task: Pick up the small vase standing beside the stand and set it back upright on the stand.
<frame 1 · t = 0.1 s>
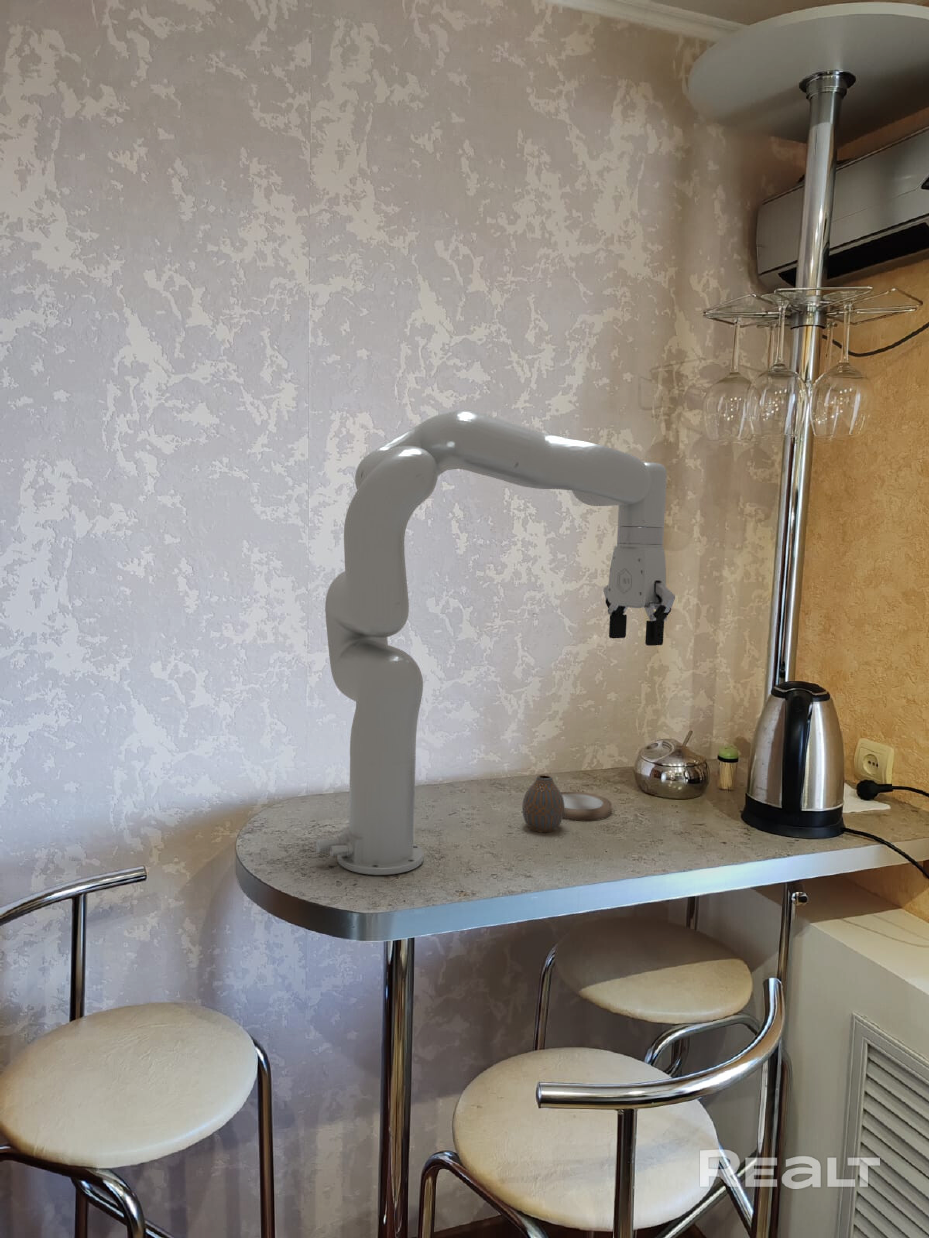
hand: (635, 641, 148), 31 cm above the breakfast bar, tool pointing down, fingers open, 9 cm apart
vase: (542, 829, 147), on the breakfast bar
stand: (576, 809, 157), on the breakfast bar
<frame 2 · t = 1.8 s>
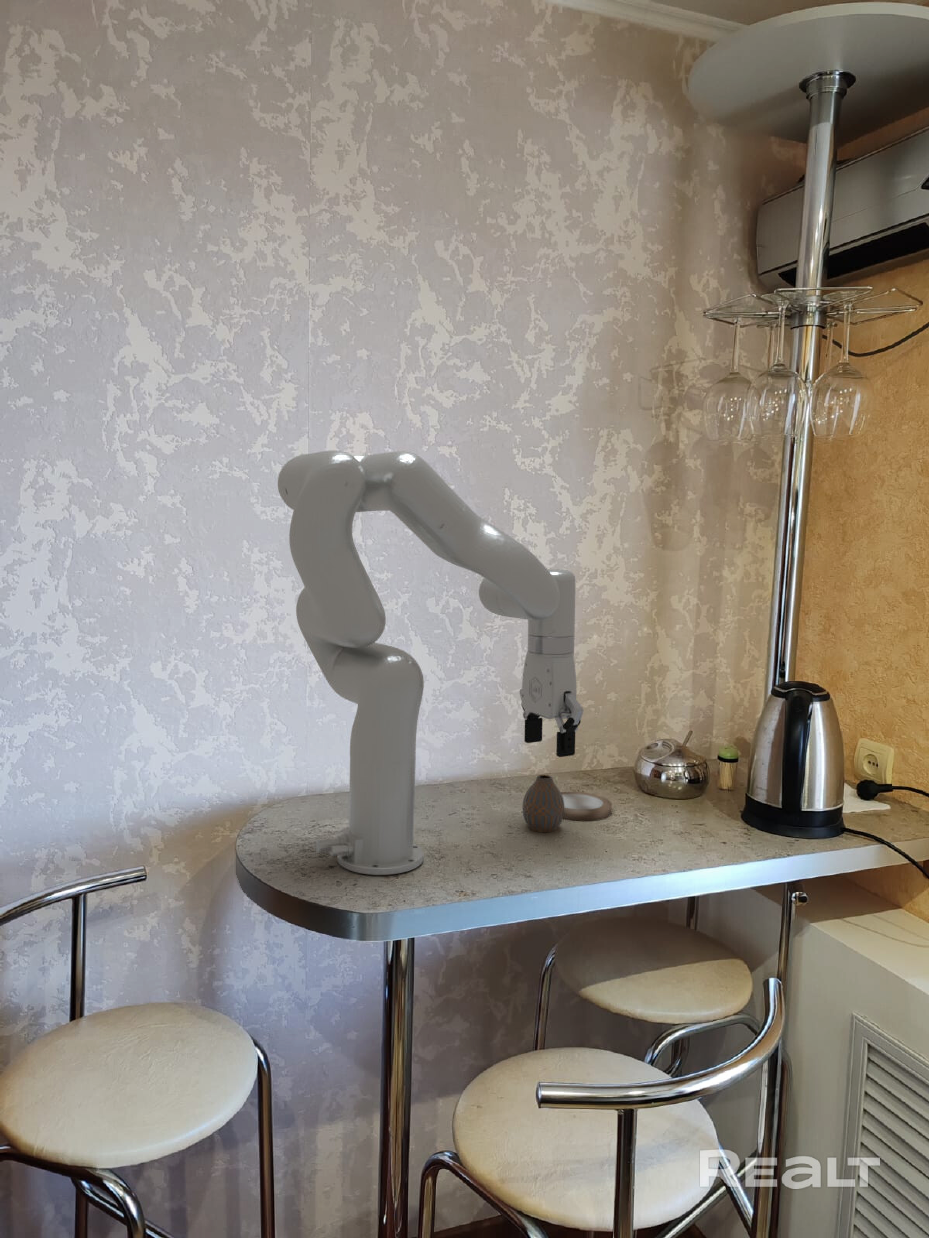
hand: (549, 748, 146), 13 cm above the breakfast bar, tool pointing down, fingers open, 9 cm apart
nothing on the breakfast bar moved.
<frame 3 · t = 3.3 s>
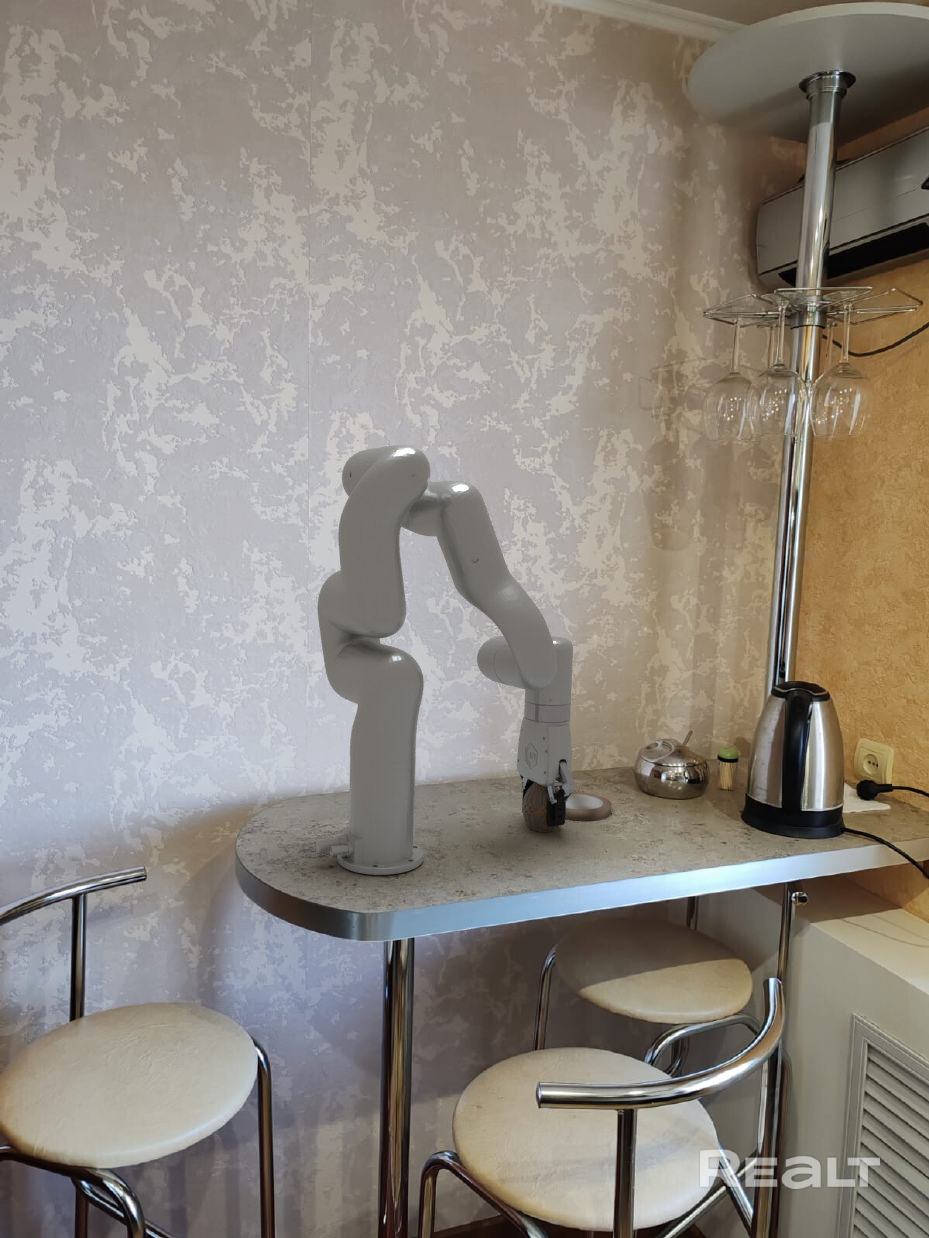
hand: (543, 817, 147), 2 cm above the breakfast bar, tool pointing down, fingers closed on vase, 6 cm apart
vase: (542, 829, 147), on the breakfast bar, touching gripper
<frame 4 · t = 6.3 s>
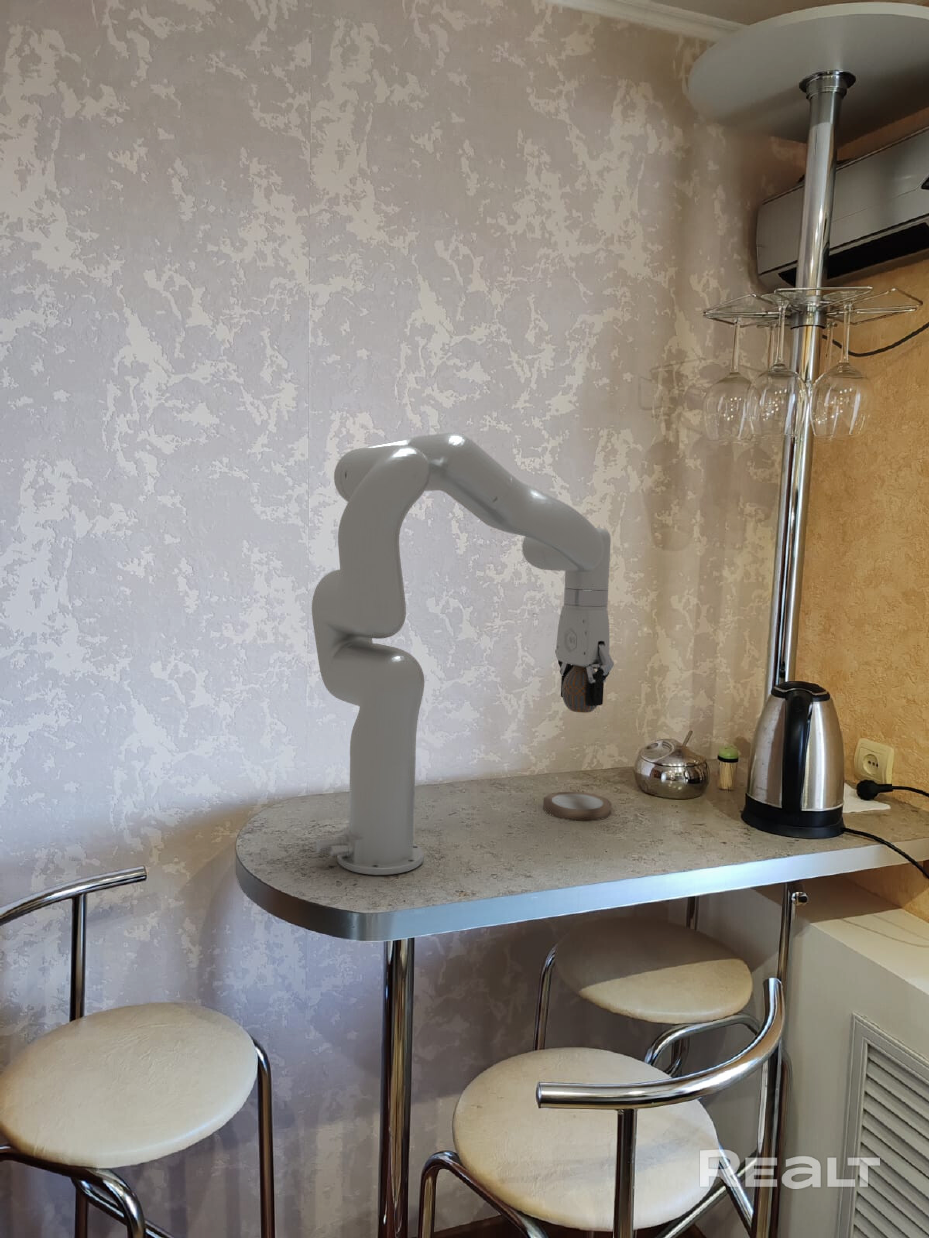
hand: (581, 700, 155), 20 cm above the breakfast bar, tool pointing down, fingers closed on vase, 6 cm apart
vase: (580, 711, 155), point 18 cm above the breakfast bar, touching gripper
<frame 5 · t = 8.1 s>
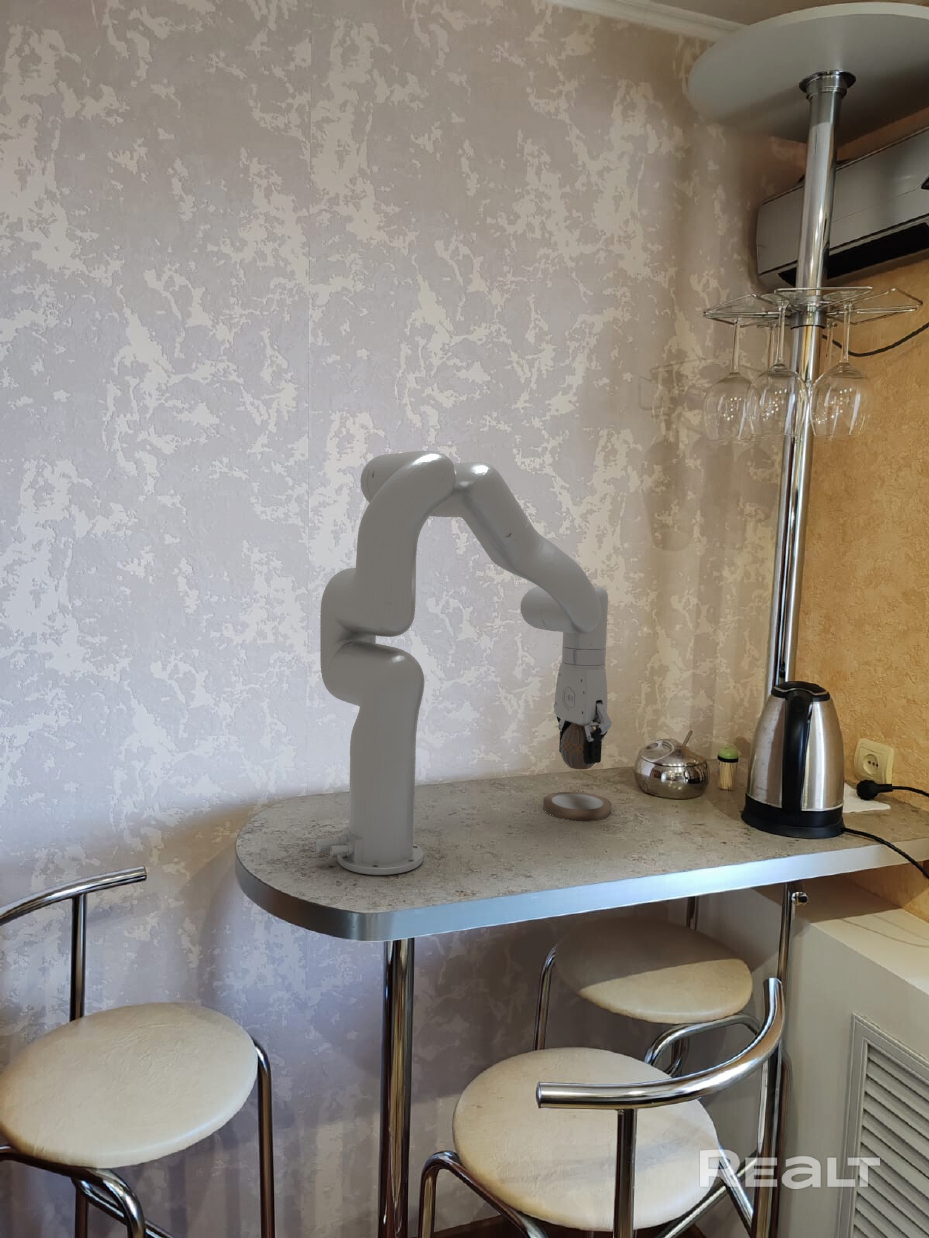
hand: (579, 756, 156), 10 cm above the breakfast bar, tool pointing down, fingers closed on vase, 6 cm apart
vase: (579, 767, 157), point 8 cm above the breakfast bar, touching gripper
when the fingers open (5 cm above the breakfast bar, at t = 9.6 s): vase drops 2 cm, resting on stand.
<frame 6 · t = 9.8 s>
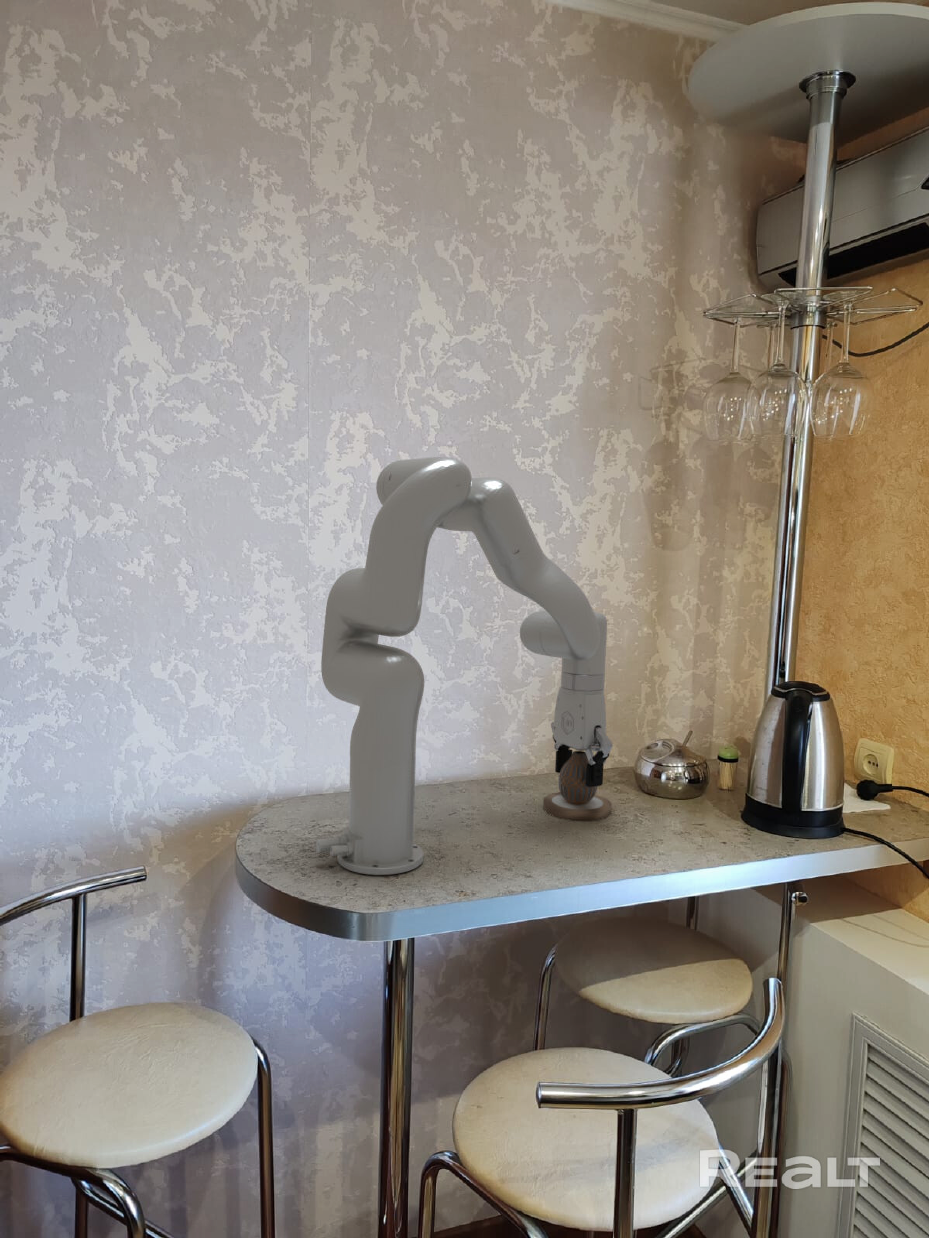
hand: (578, 778, 157), 6 cm above the breakfast bar, tool pointing down, fingers open, 9 cm apart
vase: (576, 802, 157), point 1 cm above the breakfast bar, touching stand
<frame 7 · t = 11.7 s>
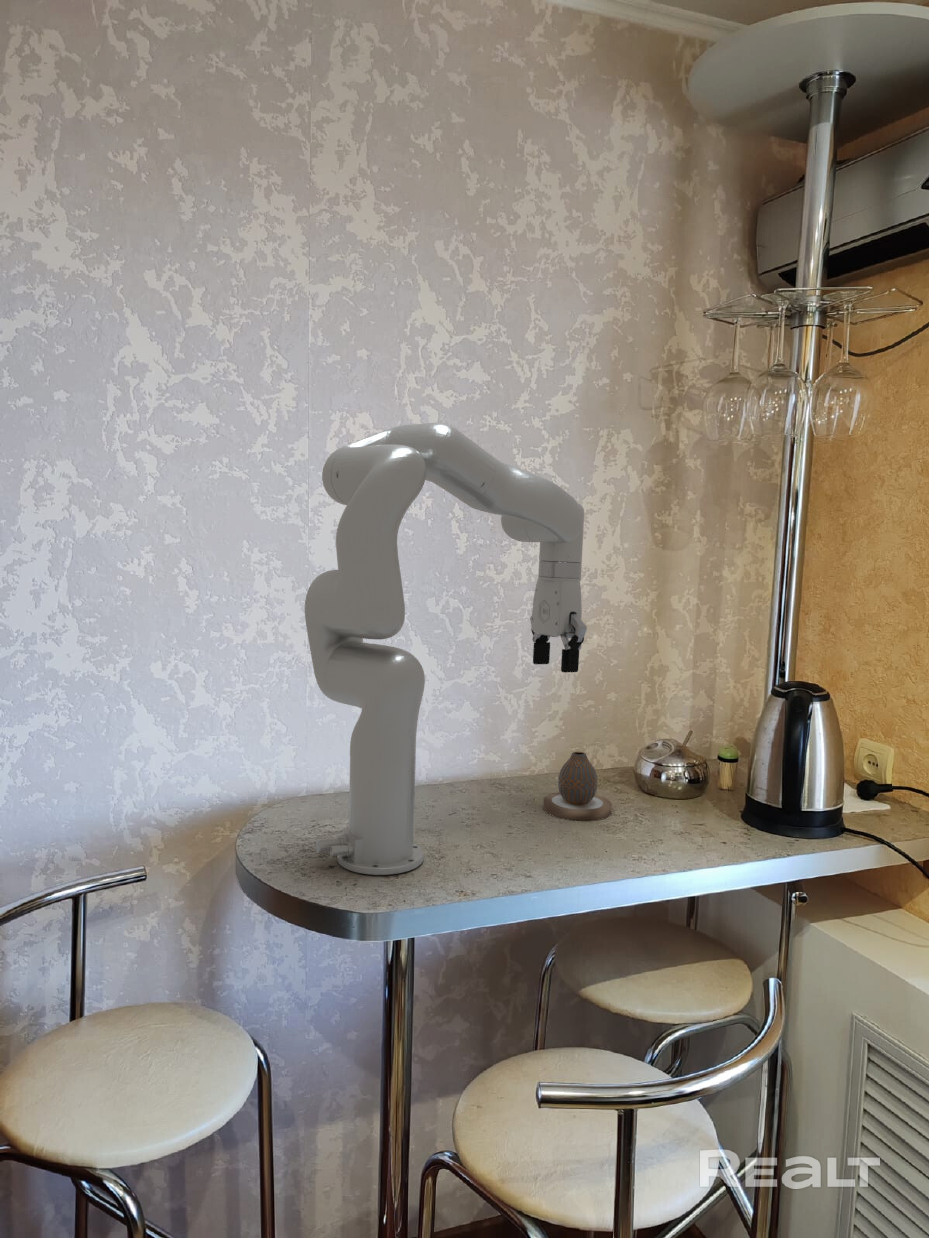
hand: (554, 667, 159), 25 cm above the breakfast bar, tool pointing down, fingers open, 9 cm apart
nothing on the breakfast bar moved.
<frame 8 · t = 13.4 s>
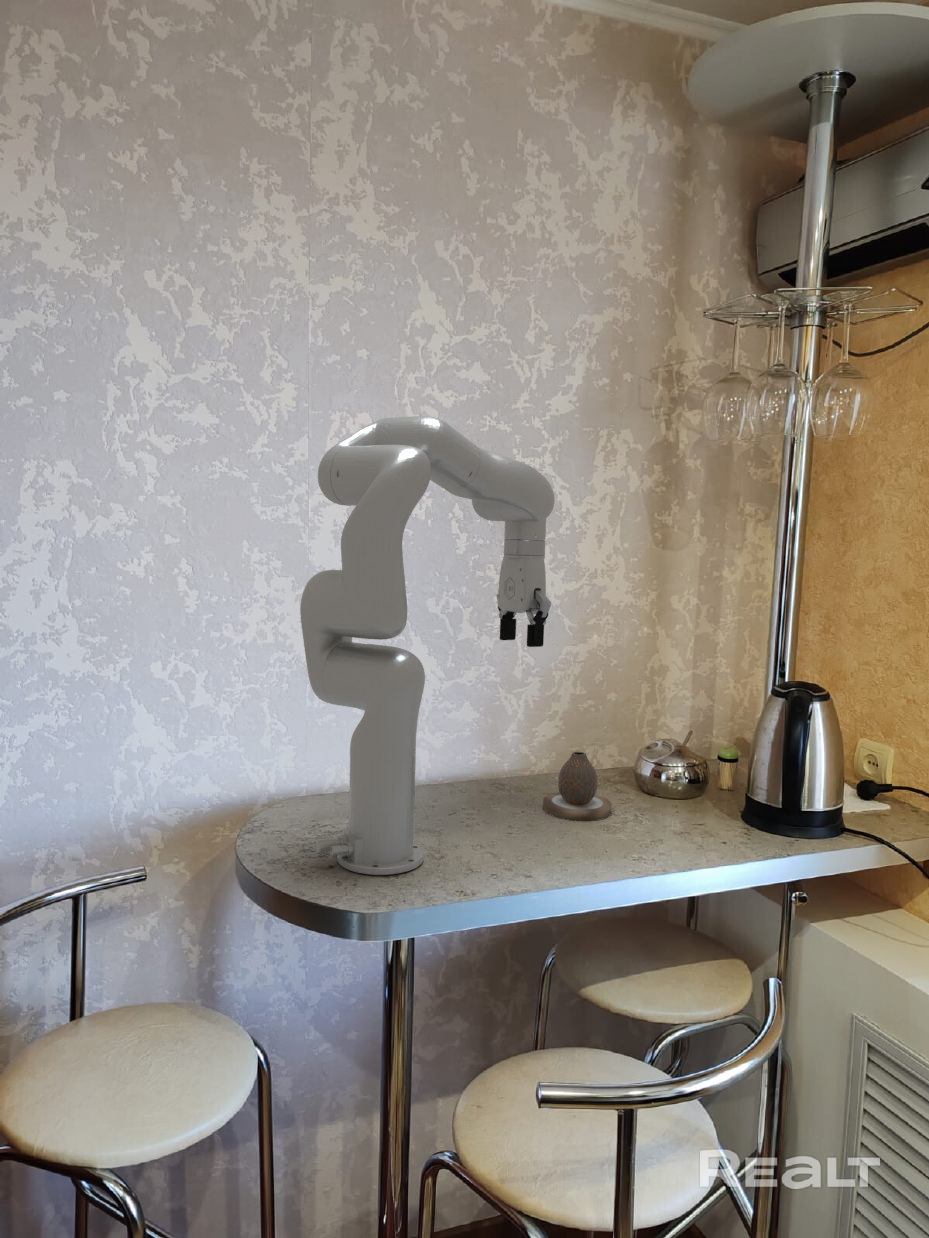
hand: (520, 643, 164), 28 cm above the breakfast bar, tool pointing down, fingers open, 9 cm apart
nothing on the breakfast bar moved.
at the end: vase 0.2 cm from the stand (horizontally); vase point 1.4 cm above the breakfast bar; vase tilted 0° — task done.
